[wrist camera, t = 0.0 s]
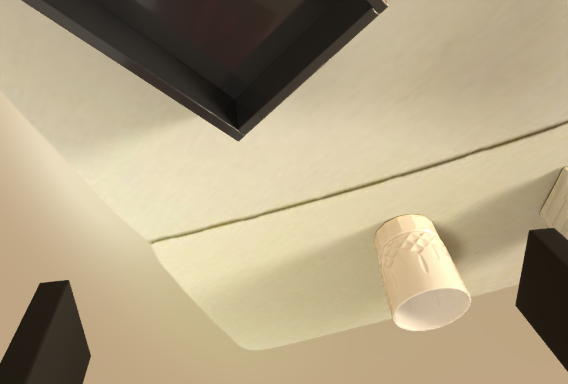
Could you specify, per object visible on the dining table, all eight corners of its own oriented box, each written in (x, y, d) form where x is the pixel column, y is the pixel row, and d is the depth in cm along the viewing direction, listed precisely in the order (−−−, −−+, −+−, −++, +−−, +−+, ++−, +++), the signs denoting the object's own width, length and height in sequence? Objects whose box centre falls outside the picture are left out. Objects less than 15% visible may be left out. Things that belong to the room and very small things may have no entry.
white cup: (397, 202, 55) (427, 280, 49) (452, 220, 59) (488, 296, 52) (355, 246, 60) (377, 324, 53) (408, 261, 63) (435, 336, 56)
